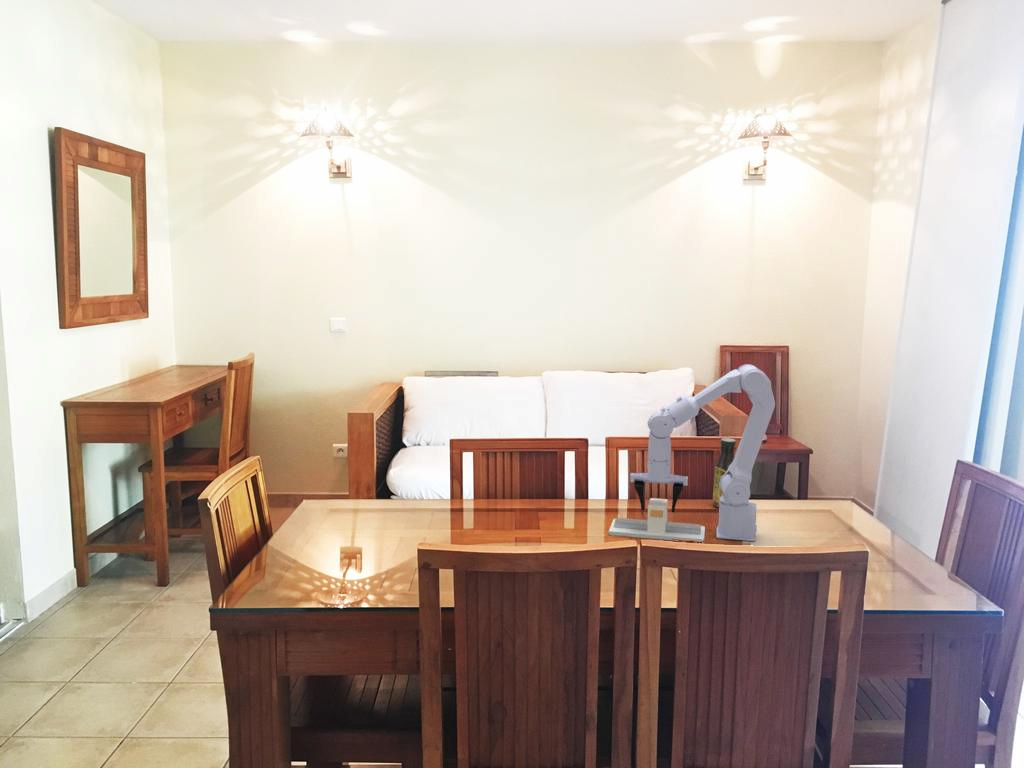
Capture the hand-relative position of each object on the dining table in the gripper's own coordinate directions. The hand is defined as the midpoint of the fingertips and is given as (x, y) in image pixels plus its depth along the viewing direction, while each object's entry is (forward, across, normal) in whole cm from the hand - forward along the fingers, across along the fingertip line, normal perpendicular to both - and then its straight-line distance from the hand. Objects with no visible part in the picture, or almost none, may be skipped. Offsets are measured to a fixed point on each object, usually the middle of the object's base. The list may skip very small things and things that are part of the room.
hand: (658, 510), depth 206 cm
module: (+5, 0, 0) cm, 5 cm away
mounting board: (+6, 0, 0) cm, 6 cm away
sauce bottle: (+6, -17, -27) cm, 32 cm away
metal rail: (+6, 0, 0) cm, 6 cm away
